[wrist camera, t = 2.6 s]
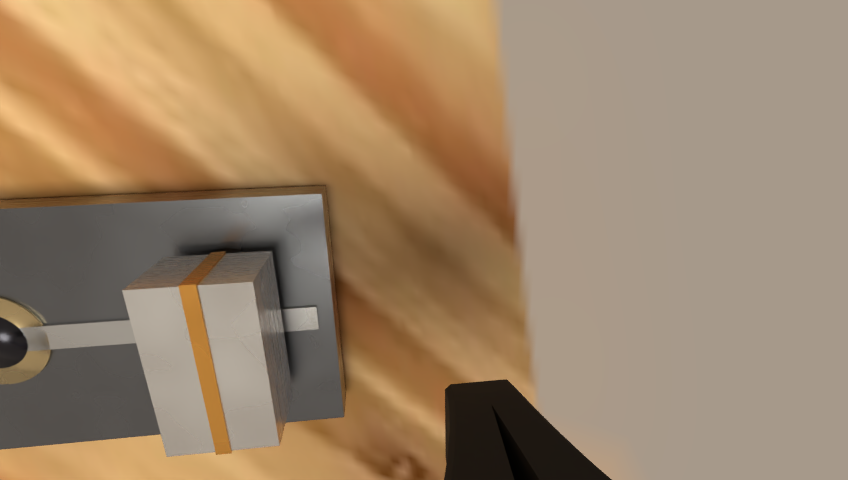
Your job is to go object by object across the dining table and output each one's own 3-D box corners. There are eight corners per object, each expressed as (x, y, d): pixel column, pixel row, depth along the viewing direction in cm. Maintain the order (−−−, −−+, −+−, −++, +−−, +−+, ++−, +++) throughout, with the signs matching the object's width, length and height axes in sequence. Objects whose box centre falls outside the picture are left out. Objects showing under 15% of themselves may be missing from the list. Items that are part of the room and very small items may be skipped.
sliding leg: (293, 395, 15) (279, 448, 12) (197, 403, 14) (166, 459, 12) (272, 248, 13) (252, 280, 11) (163, 255, 13) (119, 289, 10)
